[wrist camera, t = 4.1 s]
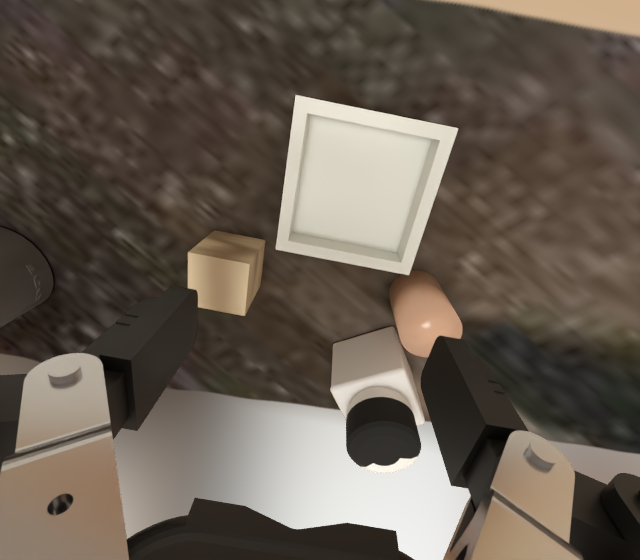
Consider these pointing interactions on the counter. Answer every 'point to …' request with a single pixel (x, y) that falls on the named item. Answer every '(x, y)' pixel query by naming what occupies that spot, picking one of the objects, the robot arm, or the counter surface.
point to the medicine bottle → (377, 400)
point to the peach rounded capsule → (422, 312)
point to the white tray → (360, 184)
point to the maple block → (226, 271)
